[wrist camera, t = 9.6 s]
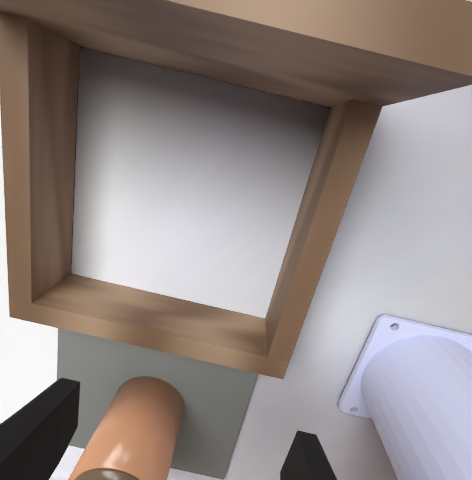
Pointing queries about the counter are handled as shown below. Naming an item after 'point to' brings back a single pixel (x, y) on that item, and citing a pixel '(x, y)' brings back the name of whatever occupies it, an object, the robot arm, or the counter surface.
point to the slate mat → (175, 373)
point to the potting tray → (223, 69)
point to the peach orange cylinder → (134, 434)
